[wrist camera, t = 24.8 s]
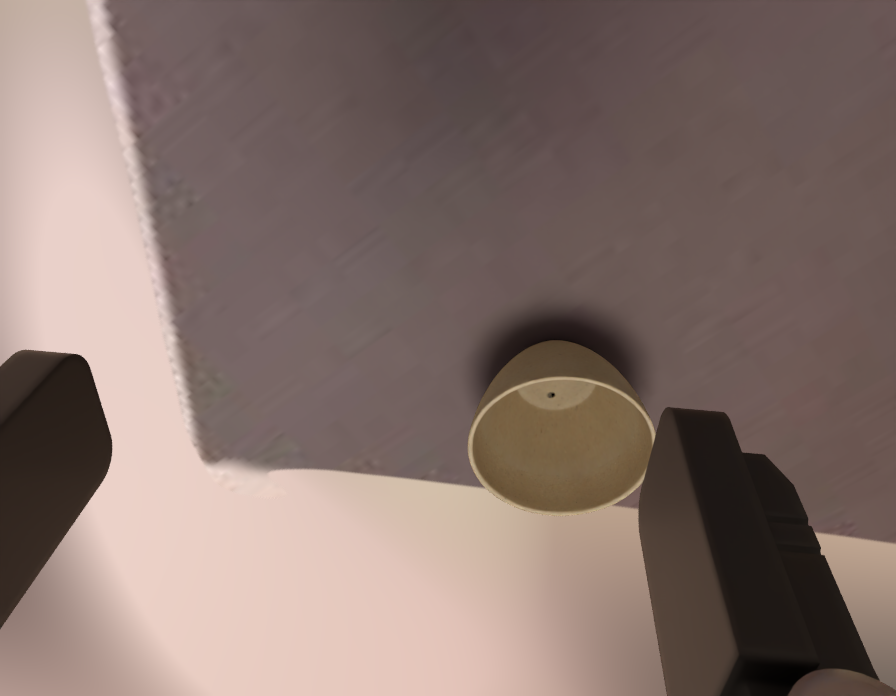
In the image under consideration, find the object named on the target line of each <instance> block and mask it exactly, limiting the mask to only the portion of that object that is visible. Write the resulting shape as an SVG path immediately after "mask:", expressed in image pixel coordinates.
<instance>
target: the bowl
mask: <svg viewBox="0 0 896 696" xmlns="http://www.w3.org/2000/svg"><path fill="white" fill-rule="evenodd" d="M552 393H554V394H555V395H554V396H552ZM655 436H656V433H655V430H654V427H653V424H652V422H651V419H650V417H649V415H648V413H647V411H646V409H645V407H644V405H643V403H642V402H641V400H640V398H639V397H638V395H637V394H636V392H635V391H634V389H633V388H632V386H631V385H630V384H629V383H628V381H627V380H626V379H625V378H624V377H623V376H622V374H621V373H620V372H619V371H618V370H617V369H616V368H615V367H614V366H613V365H611V364H610V363H609V362H608V361H607V360H605V359H604V358H603V357H601V356H600V355H598V354H597V353H595V352H593V351H592V350H590V349H588V348H586V347H584V346H581V345H579V344H576V343H572V342H568V341H563V340H550V341H544V342H541V343H538V344H535V345H533V346H531V347H529V348H527V349H525V350H524V351H522V352H521V353H519V354H518V355H516V356H515V357H514V358H513V359H512V360H510V361H509V362H508V363H507V364H506V365H505V366H504V367H503V368H502V369H501V371H500V372H499V373H498V374H497V375H496V377H495V378H494V379H493V381H492V382H491V384H490V385H489V387H488V389H487V390H486V392H485V394H484V395H483V397H482V399H481V401H480V404H479V406H478V408H477V411H476V413H475V416H474V419H473V422H472V425H471V429H470V432H469V438H468V456H469V461H470V464H471V467H472V469H473V471H474V473H475V475H476V476H477V478H478V479H479V481H480V482H481V483H482V484H483V486H484V487H485V488H486V489H487V490H488V491H490V492H491V493H492V494H493V495H494V496H496V497H497V498H499V499H500V500H502V501H504V502H506V503H508V504H510V505H512V506H514V507H516V508H519V509H522V510H524V511H528V512H532V513H536V514H542V515H552V516H569V515H579V514H584V513H589V512H593V511H597V510H600V509H603V508H606V507H609V506H611V505H613V504H615V503H617V502H619V501H620V500H622V499H624V498H625V497H627V496H628V495H629V494H631V493H632V492H633V491H634V490H635V489H637V488H638V487H639V486H640V485H641V483H642V482H643V480H644V477H645V473H646V469H647V466H648V462H649V458H650V455H651V451H652V447H653V443H654V440H655Z"/></svg>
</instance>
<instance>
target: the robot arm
mask: <svg viewBox="0 0 896 696" xmlns="http://www.w3.org/2000/svg"><path fill="white" fill-rule="evenodd" d="M111 456H112V439H111V434H110V431H109V428H108V425H107V421H106V418H105V415H104V412H103V408H102V406H101V402H100V399H99V395H98V392H97V389H96V386H95V382H94V379H93V376H92V373H91V370H90V367H89V365H88V363H87V361H86V360H85V359H84V358H83V357H82V356H80V355H78V354H67V353H56V352H45V351H34V350H21V351H18V352H17V353H15V354H13V355H12V356H11V357H10V358H9V359H8V360H7V361H6V362H5V363H4V364H2V366H0V629H1V627H2V626H3V624H4V622H5V621H6V620H7V618H8V617H9V615H10V614H11V613H12V611H13V610H14V608H15V607H16V605H17V604H18V603H19V601H20V600H21V598H22V597H23V595H24V594H25V593H26V591H27V590H28V588H29V587H30V585H31V584H32V582H33V581H34V580H35V578H36V577H37V575H38V574H39V572H40V571H41V569H42V568H43V567H44V565H45V564H46V562H47V561H48V559H49V558H50V557H51V555H52V554H53V552H54V551H55V549H56V548H57V546H58V545H59V543H60V542H61V541H62V539H63V538H64V536H65V535H66V533H67V532H68V531H69V529H70V528H71V526H72V525H73V523H74V522H75V520H76V519H77V517H78V516H79V515H80V513H81V512H82V510H83V509H84V507H85V506H86V505H87V503H88V502H89V500H90V499H91V497H92V496H93V495H94V493H95V492H96V490H97V489H98V487H99V486H100V484H101V483H102V481H103V479H104V478H105V476H106V474H107V472H108V469H109V466H110V462H111ZM639 533H640V539H641V546H642V551H643V557H644V563H645V569H646V574H647V581H648V586H649V592H650V598H651V604H652V610H653V615H654V622H655V627H656V633H657V639H658V645H659V651H660V656H661V663H662V668H663V674H664V680H665V686H666V692H667V696H896V690H894V689H893V688H891V687H890V686H888V685H886V684H884V683H882V682H880V680H879V678H878V676H877V675H876V673H875V671H874V669H873V666H872V664H871V662H870V659H869V657H868V655H867V653H866V650H865V648H864V646H863V643H862V641H861V639H860V636H859V634H858V632H857V630H856V627H855V625H854V623H853V620H852V618H851V616H850V613H849V611H848V609H847V606H846V604H845V602H844V600H843V597H842V595H841V593H840V590H839V588H838V586H837V584H836V581H835V579H834V577H833V575H832V572H831V570H830V568H829V565H828V563H827V561H826V558H825V556H824V555H821V553H820V549H821V547H820V544H819V542H818V540H817V538H816V535H815V533H814V531H813V528H812V526H808V517H807V515H806V512H805V510H804V508H803V505H802V503H801V501H800V498H799V496H798V494H797V492H796V489H795V487H794V485H793V484H792V483H791V482H790V481H789V480H788V479H787V478H786V477H785V475H784V474H783V473H782V472H781V471H780V470H779V469H778V468H777V467H776V466H775V465H774V464H773V463H772V462H771V461H770V460H769V459H768V458H767V457H766V456H765V455H763V454H752V453H742V451H741V448H740V446H739V443H738V440H737V438H736V435H735V432H734V430H733V427H732V424H731V422H730V419H729V417H728V416H727V414H725V413H724V412H716V411H704V410H693V409H681V408H670V407H668V408H666V409H665V410H664V411H663V413H662V415H661V418H660V421H659V425H658V429H657V432H656V436H655V440H654V443H653V447H652V451H651V455H650V458H649V462H648V466H647V469H646V473H645V477H644V480H643V484H642V488H641V493H640V500H639Z"/></svg>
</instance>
